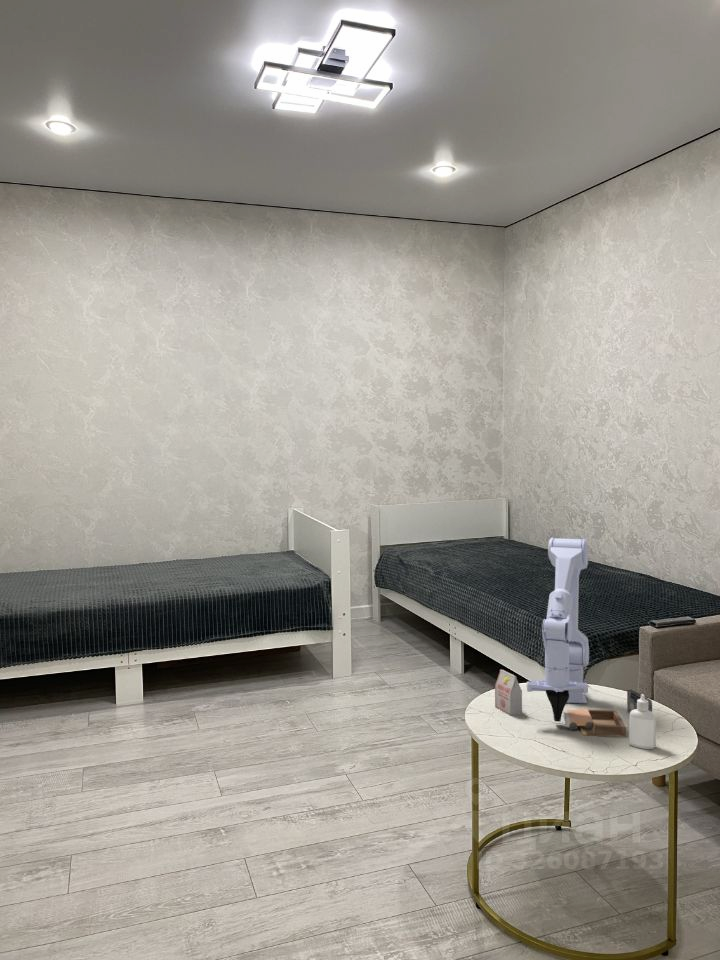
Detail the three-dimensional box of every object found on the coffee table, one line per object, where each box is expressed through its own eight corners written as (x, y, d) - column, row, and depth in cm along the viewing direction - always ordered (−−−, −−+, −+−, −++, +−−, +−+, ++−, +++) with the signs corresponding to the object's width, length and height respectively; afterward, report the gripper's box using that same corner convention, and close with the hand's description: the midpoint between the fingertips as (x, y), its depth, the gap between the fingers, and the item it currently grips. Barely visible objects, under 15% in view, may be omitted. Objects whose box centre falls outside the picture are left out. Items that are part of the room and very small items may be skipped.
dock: (575, 717, 189) (575, 709, 189) (616, 718, 188) (616, 710, 188) (582, 735, 178) (582, 726, 178) (626, 736, 177) (626, 727, 177)
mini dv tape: (652, 723, 185) (652, 699, 184) (646, 724, 184) (646, 700, 184) (632, 711, 192) (632, 689, 192) (627, 712, 192) (627, 689, 192)
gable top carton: (506, 704, 199) (506, 668, 198) (522, 713, 193) (521, 675, 192) (495, 707, 197) (494, 670, 197) (510, 715, 191) (510, 677, 191)
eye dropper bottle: (646, 752, 168) (647, 700, 167) (626, 744, 173) (626, 693, 172) (659, 747, 170) (659, 696, 170) (638, 739, 175) (638, 689, 174)
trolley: (563, 720, 187) (562, 709, 187) (590, 720, 186) (589, 708, 186) (567, 731, 181) (566, 719, 180) (595, 731, 180) (594, 718, 179)
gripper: (528, 670, 180) (528, 725, 181) (590, 671, 178) (590, 727, 179) (525, 661, 187) (526, 714, 188) (585, 662, 185) (585, 716, 186)
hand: (557, 720), depth 184 cm, fingers closed
